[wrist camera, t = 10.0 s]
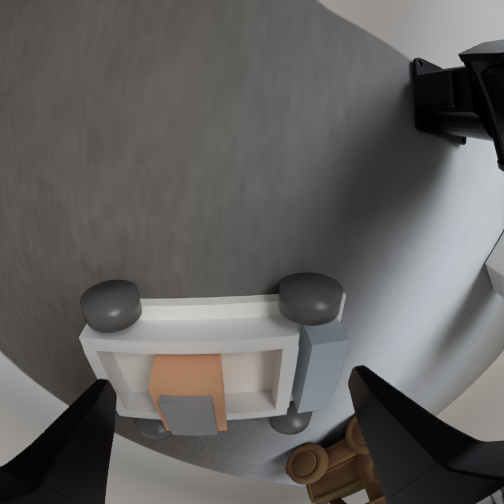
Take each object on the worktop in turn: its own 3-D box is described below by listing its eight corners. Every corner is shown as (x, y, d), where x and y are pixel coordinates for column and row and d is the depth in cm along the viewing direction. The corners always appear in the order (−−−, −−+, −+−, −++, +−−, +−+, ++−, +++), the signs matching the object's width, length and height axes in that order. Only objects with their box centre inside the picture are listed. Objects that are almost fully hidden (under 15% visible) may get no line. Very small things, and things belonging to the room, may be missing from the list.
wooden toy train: (388, 387, 29) (441, 483, 13) (409, 405, 33) (451, 478, 18) (274, 454, 33) (293, 543, 17) (314, 462, 37) (335, 534, 21)
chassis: (344, 269, 20) (370, 299, 16) (315, 397, 27) (326, 428, 23) (80, 280, 18) (56, 310, 14) (130, 405, 25) (124, 436, 21)
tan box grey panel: (219, 340, 20) (222, 398, 15) (224, 386, 23) (227, 438, 17) (158, 341, 20) (145, 397, 15) (171, 387, 22) (166, 438, 17)
